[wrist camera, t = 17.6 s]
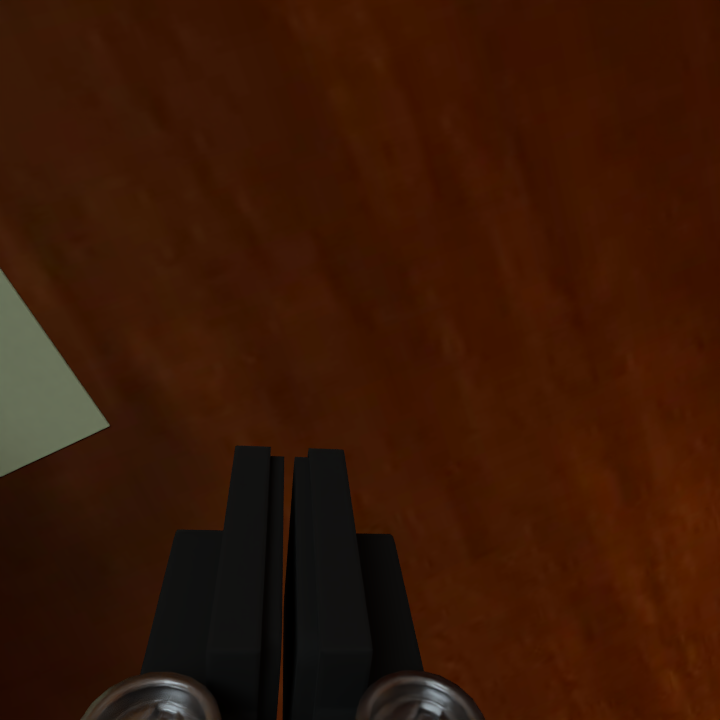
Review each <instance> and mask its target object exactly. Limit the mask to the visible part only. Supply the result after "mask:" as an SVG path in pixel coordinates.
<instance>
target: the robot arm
mask: <svg viewBox="0 0 720 720" xmlns="http://www.w3.org/2000/svg"><path fill="white" fill-rule="evenodd" d="M270 451H271V447H259V446H236V447H235V453H234V460H233V467H232V474H231V481H230V488H229V495H228V502H227V509H226V516H225V523H224V530H223V531H218V530H177V531H176V534H175V537H174V540H173V544H172V548H171V552H170V556H169V560H168V564H167V568H166V572H165V576H164V580H163V585H162V589H161V593H160V597H159V601H158V605H157V609H156V613H155V617H154V621H153V625H152V629H151V633H150V637H149V641H148V645H147V649H146V653H145V657H144V661H143V665H142V669H141V673H140V675H137V676H133V677H130V678H128V679H126V680H124V681H122V682H120V683H118V684H116V685H114V686H112V687H110V688H109V689H108V690H107V691H105V692H104V693H103V694H102V695H101V696H100V697H98V698H97V699H96V700H95V701H94V702H93V703H92V704H91V705H90V707H89V708H88V710H87V711H86V713H85V714H84V716H83V717H82V718H81V720H276V718H277V704H278V691H279V678H280V663H281V641H282V578H283V500H284V457H279V456H270ZM283 720H485V718H484V716H483V714H482V713H481V711H480V710H479V708H478V706H477V705H476V703H475V702H474V700H473V699H472V698H471V697H470V696H469V695H468V694H467V693H466V692H465V691H463V690H462V689H461V688H460V687H459V686H458V685H457V684H455V683H453V682H451V681H449V680H447V679H445V678H444V677H442V676H440V675H436V674H432V673H428V672H425V671H424V670H423V666H422V661H421V657H420V652H419V648H418V643H417V639H416V635H415V630H414V626H413V621H412V617H411V612H410V608H409V603H408V599H407V595H406V590H405V586H404V581H403V577H402V572H401V568H400V564H399V559H398V555H397V550H396V546H395V542H394V539H393V536H392V535H391V534H356V530H355V523H354V517H353V510H352V503H351V496H350V489H349V482H348V475H347V469H346V462H345V455H344V450H338V449H312V448H309V450H308V458H307V457H295V461H294V473H293V486H292V500H291V513H290V527H289V540H288V554H287V567H286V580H285V595H284V633H283Z"/></svg>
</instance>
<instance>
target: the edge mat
mask: <svg viewBox="0 0 720 720" xmlns="http://www.w3.org/2000/svg"><path fill="white" fill-rule="evenodd" d="M109 426H110V424H109V423H108V421H107V420H106V418H105V417H104V416H103V414H102V413H101V411H100V410H99V408H98V407H97V406H96V404H95V403H94V401H93V400H92V398H91V397H90V396H89V394H88V393H87V391H86V390H85V388H84V387H83V386H82V384H81V383H80V381H79V380H78V378H77V377H76V376H75V374H74V373H73V371H72V370H71V368H70V367H69V366H68V364H67V363H66V361H65V360H64V358H63V357H62V355H61V354H60V353H59V351H58V350H57V348H56V347H55V345H54V344H53V343H52V341H51V340H50V338H49V337H48V335H47V334H46V333H45V331H44V330H43V328H42V327H41V325H40V324H39V323H38V321H37V320H36V318H35V317H34V315H33V314H32V313H31V311H30V310H29V308H28V307H27V305H26V304H25V303H24V301H23V300H22V298H21V297H20V295H19V294H18V293H17V291H16V290H15V288H14V287H13V285H12V284H11V282H10V281H9V280H8V278H7V277H6V275H5V274H4V272H3V271H2V270H1V268H0V477H1V476H4V475H6V474H8V473H10V472H12V471H14V470H17V469H19V468H21V467H23V466H25V465H27V464H29V463H32V462H34V461H36V460H38V459H40V458H42V457H44V456H47V455H49V454H51V453H53V452H55V451H57V450H59V449H62V448H64V447H66V446H68V445H70V444H72V443H75V442H77V441H79V440H81V439H83V438H85V437H87V436H90V435H92V434H94V433H96V432H98V431H100V430H102V429H105V428H107V427H109Z"/></svg>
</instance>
